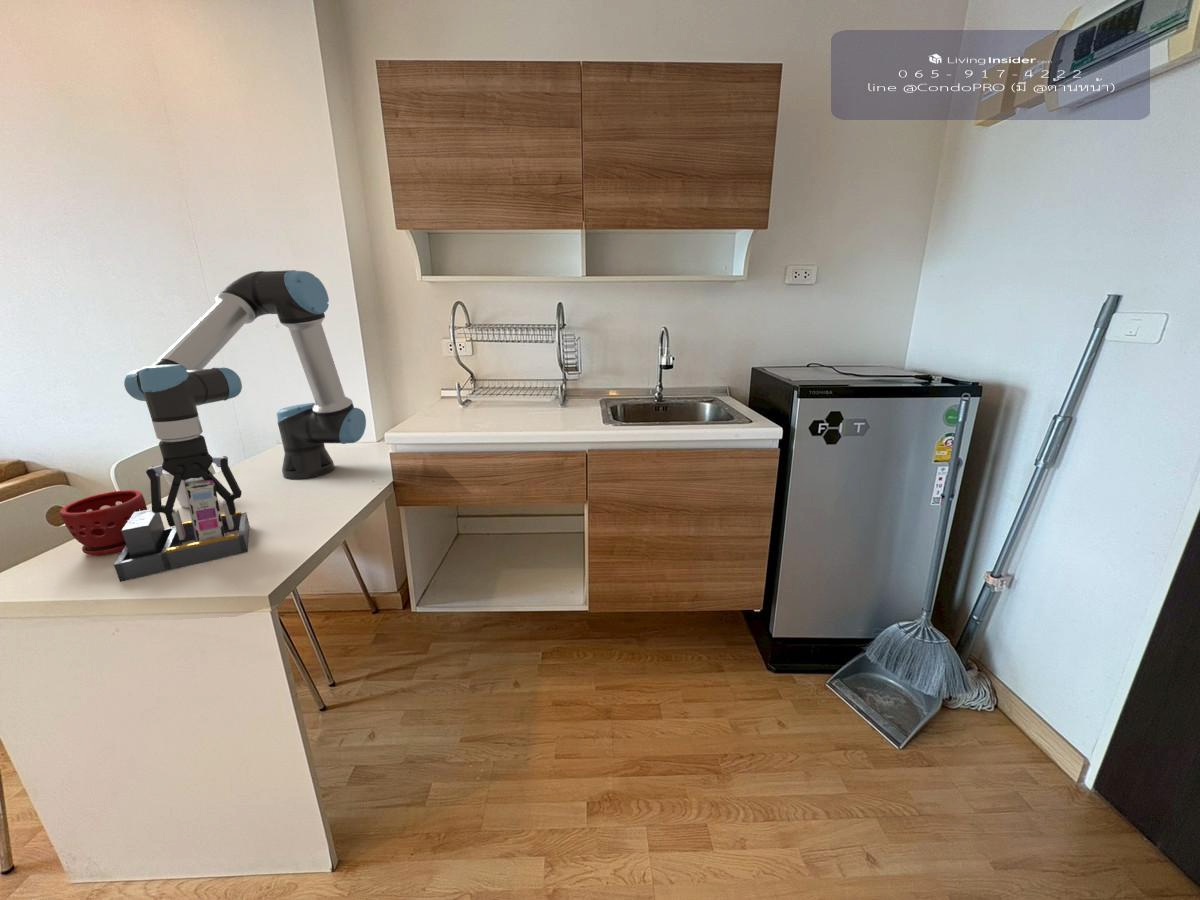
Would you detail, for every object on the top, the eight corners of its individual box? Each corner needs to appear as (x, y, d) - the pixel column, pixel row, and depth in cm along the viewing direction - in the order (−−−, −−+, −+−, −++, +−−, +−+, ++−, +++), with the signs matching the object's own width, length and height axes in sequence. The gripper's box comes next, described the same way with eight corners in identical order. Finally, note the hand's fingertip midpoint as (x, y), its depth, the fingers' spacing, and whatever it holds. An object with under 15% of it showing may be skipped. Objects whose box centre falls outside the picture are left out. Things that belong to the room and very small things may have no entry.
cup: (191, 512, 127) (180, 474, 124) (162, 509, 129) (151, 472, 126) (226, 498, 136) (216, 463, 133) (198, 496, 138) (189, 461, 135)
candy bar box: (229, 551, 106) (215, 483, 102) (201, 558, 102) (185, 488, 98) (222, 535, 113) (209, 471, 109) (196, 541, 110) (181, 476, 106)
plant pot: (91, 542, 111) (74, 496, 107) (163, 530, 117) (150, 485, 113) (65, 567, 100) (45, 516, 96) (146, 552, 106) (130, 504, 102)
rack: (249, 526, 118) (240, 490, 115) (247, 552, 105) (237, 511, 102) (137, 550, 107) (124, 510, 104) (119, 582, 94) (104, 537, 91)
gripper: (241, 427, 109) (263, 515, 115) (118, 441, 98) (149, 538, 104) (240, 433, 103) (262, 526, 109) (109, 449, 92) (142, 552, 98)
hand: (207, 532), depth 107 cm, fingers open, 8 cm apart
